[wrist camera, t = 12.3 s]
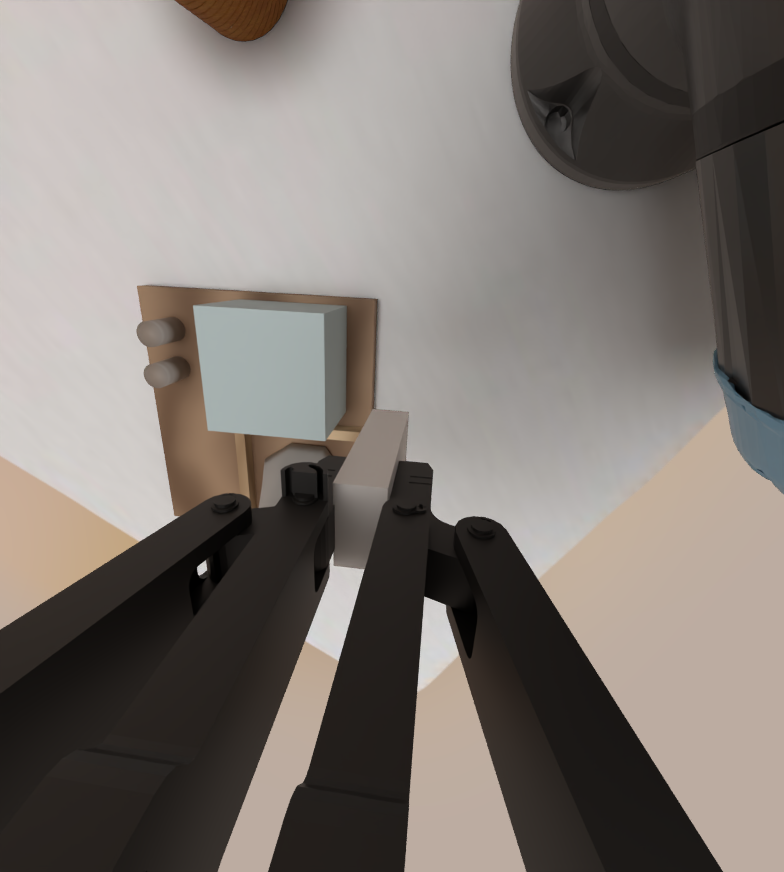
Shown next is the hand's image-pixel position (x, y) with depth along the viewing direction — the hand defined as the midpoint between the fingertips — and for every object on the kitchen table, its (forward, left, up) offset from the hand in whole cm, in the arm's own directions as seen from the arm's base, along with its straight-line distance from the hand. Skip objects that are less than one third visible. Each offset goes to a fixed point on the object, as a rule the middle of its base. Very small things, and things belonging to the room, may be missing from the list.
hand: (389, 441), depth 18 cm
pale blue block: (+9, 0, -15) cm, 17 cm away
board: (+12, +5, -16) cm, 21 cm away
